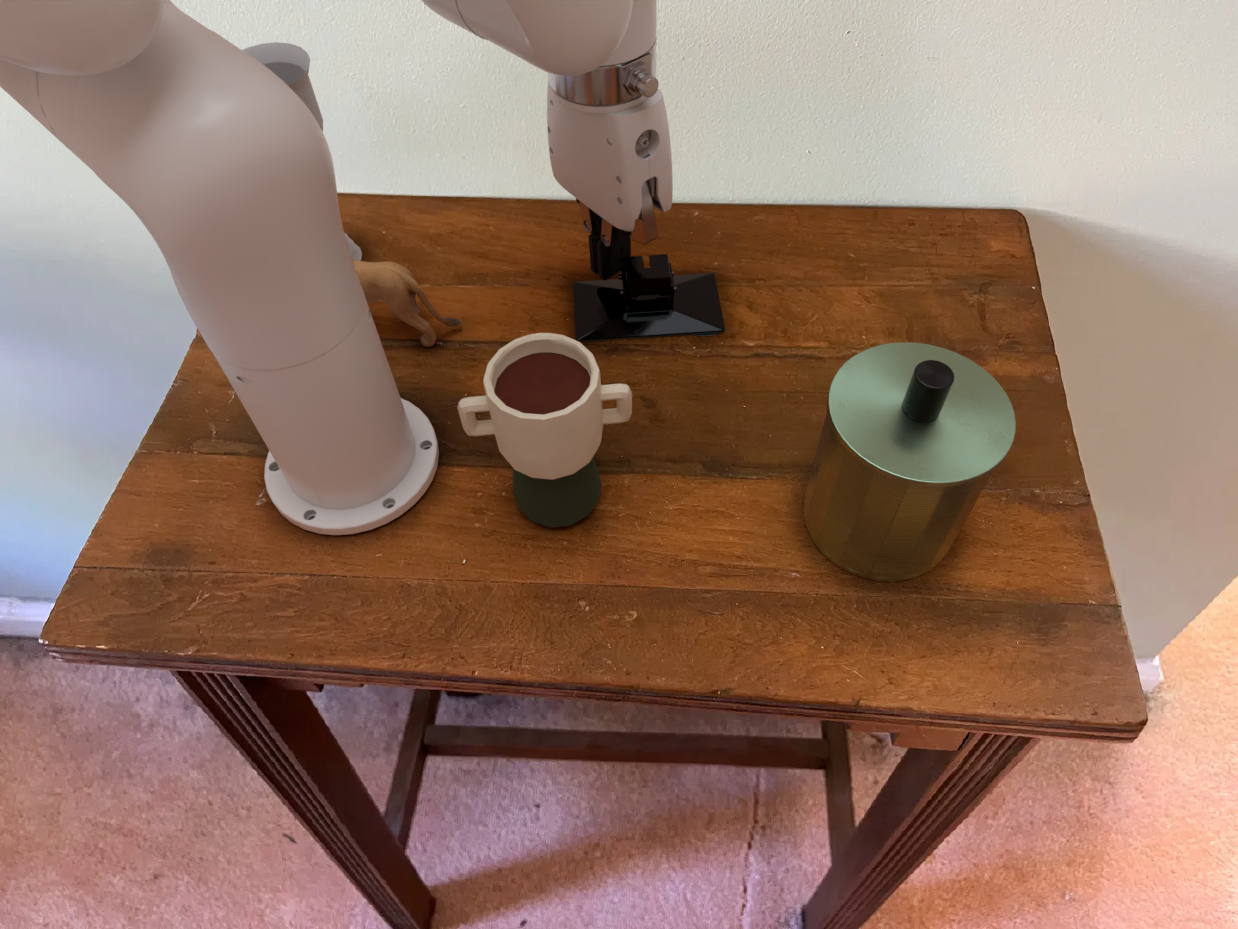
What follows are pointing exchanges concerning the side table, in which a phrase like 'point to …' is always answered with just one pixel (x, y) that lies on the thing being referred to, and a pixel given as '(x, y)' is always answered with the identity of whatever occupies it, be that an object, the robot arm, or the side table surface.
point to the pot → (880, 515)
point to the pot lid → (921, 414)
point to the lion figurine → (399, 295)
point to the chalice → (295, 86)
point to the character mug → (548, 423)
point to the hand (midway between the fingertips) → (611, 268)
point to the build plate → (647, 303)
